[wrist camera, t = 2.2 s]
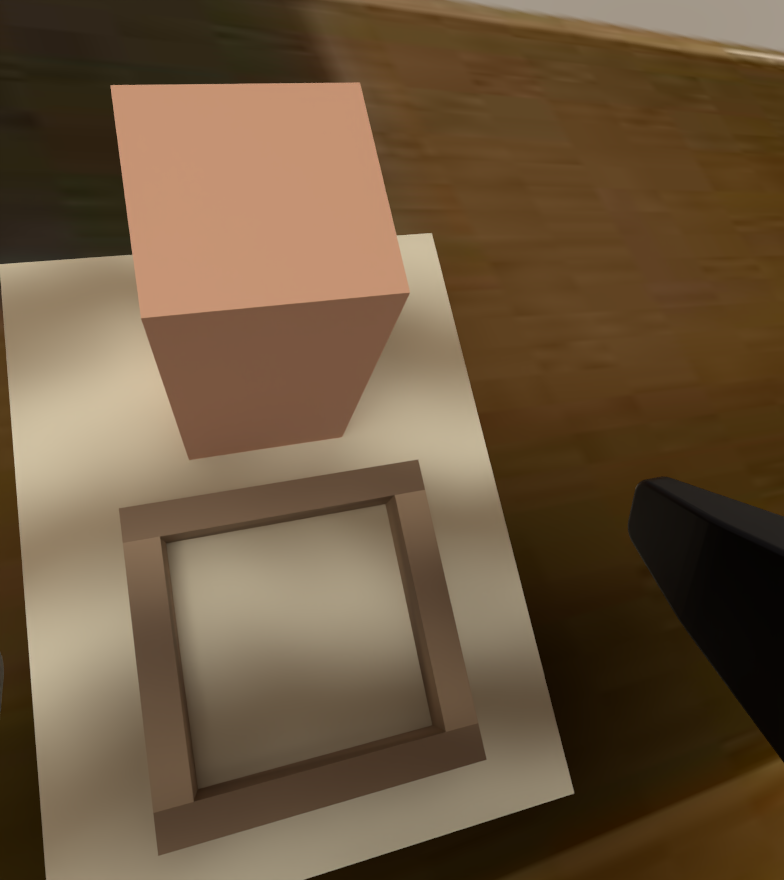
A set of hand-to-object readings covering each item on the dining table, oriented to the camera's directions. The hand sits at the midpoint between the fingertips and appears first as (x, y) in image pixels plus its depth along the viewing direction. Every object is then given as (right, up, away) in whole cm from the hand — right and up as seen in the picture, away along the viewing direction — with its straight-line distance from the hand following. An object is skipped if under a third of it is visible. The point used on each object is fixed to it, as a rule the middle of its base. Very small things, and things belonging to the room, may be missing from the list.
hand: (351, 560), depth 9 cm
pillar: (-4, +4, +13) cm, 14 cm away
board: (-3, -1, +13) cm, 13 cm away
